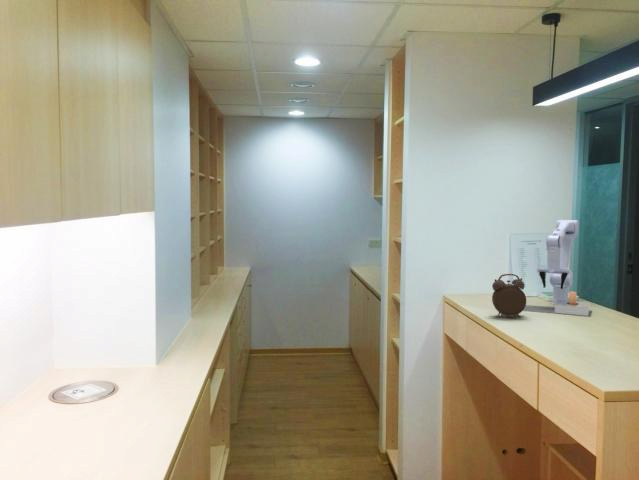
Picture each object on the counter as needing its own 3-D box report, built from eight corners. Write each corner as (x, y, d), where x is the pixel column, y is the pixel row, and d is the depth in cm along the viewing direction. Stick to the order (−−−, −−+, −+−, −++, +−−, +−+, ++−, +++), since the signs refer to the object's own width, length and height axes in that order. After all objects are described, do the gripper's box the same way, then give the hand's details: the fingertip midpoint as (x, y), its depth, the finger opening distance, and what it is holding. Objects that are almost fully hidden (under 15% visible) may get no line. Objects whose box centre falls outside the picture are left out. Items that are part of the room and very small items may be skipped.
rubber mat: (525, 305, 266) (525, 304, 265) (592, 311, 250) (592, 310, 250) (520, 311, 253) (520, 310, 253) (590, 317, 238) (590, 316, 238)
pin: (569, 310, 250) (569, 291, 249) (576, 311, 249) (576, 291, 248) (568, 312, 248) (569, 292, 247) (575, 313, 246) (576, 292, 245)
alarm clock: (522, 315, 246) (522, 272, 244) (526, 318, 239) (527, 275, 237) (490, 315, 247) (490, 272, 245) (493, 318, 240) (494, 275, 238)
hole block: (557, 308, 257) (557, 300, 257) (589, 310, 250) (590, 302, 250) (554, 313, 247) (554, 304, 246) (588, 316, 240) (588, 307, 239)
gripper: (536, 260, 255) (535, 288, 256) (569, 261, 248) (568, 290, 249) (538, 258, 261) (537, 286, 262) (570, 260, 254) (570, 288, 255)
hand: (553, 288), depth 256 cm, fingers open, 7 cm apart
